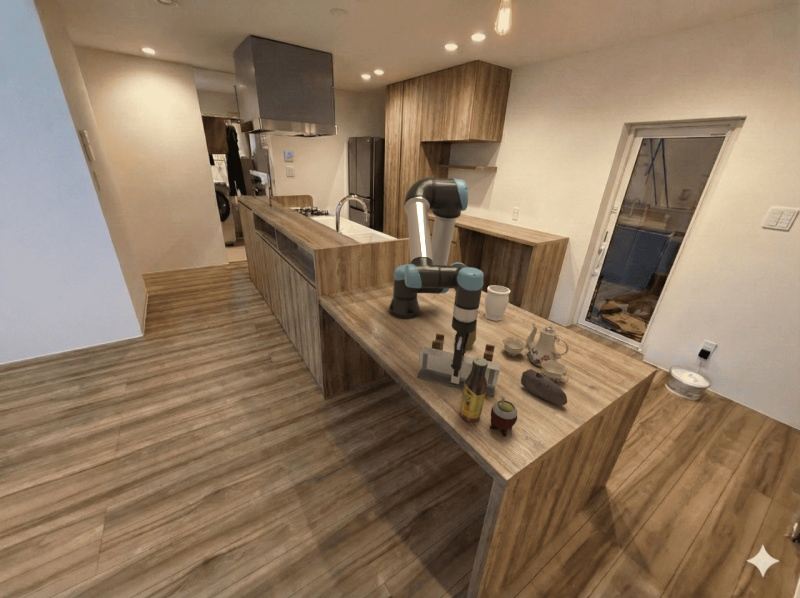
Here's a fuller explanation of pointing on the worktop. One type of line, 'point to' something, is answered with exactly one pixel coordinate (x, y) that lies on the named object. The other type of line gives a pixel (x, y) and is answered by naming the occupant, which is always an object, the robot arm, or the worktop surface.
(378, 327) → the worktop surface
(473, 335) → the squeeze bottle
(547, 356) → the chinaware
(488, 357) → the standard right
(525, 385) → the perforated stone tool
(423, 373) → the mat
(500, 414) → the mate gourd
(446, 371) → the rail
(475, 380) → the sauce bottle
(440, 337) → the standard left
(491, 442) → the worktop surface
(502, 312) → the jar
